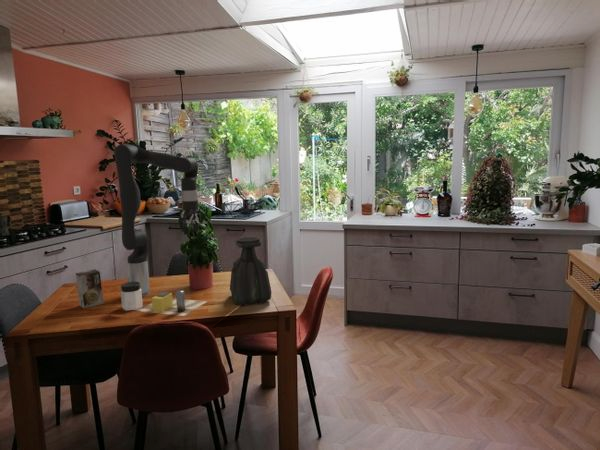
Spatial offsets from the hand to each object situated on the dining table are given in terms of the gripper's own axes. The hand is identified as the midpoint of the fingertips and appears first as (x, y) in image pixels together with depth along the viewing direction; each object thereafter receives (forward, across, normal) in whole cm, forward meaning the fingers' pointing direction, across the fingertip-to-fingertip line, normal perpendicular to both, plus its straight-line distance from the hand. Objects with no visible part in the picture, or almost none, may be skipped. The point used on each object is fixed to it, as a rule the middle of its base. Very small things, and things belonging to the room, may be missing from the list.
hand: (191, 233), depth 207 cm
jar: (+33, -23, +19) cm, 44 cm away
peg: (+31, -21, -6) cm, 38 cm away
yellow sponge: (+31, -20, +4) cm, 38 cm away
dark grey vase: (+32, +3, -29) cm, 43 cm away
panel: (+32, -17, +2) cm, 36 cm away
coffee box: (+33, -23, +43) cm, 59 cm away
